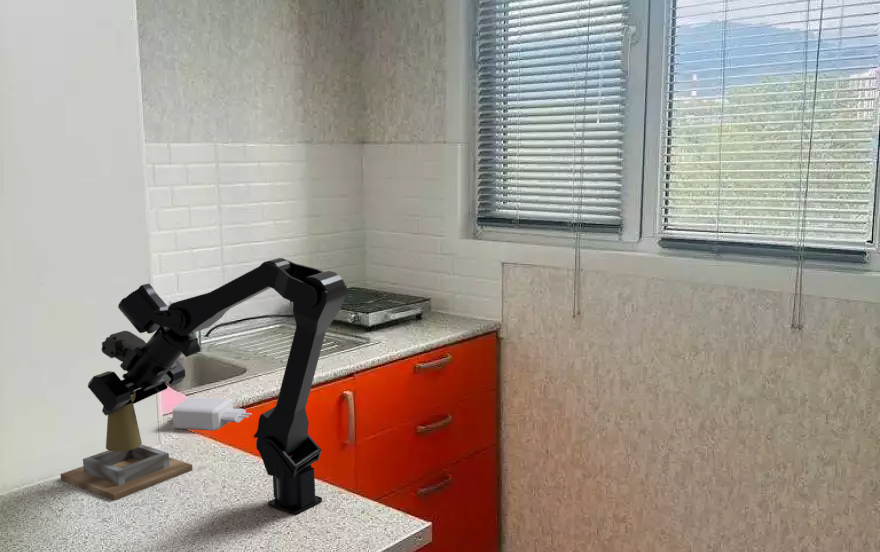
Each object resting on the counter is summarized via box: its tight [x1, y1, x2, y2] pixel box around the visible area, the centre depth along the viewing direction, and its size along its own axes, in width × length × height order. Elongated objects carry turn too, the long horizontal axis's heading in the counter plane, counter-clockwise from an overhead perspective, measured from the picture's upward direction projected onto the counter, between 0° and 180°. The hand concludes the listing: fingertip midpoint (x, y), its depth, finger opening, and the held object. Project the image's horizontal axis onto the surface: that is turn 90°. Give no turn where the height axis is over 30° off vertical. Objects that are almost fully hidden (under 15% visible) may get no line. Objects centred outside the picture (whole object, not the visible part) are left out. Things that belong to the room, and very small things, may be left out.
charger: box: [172, 396, 253, 432], centre depth 183 cm, size 5×9×15 cm
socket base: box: [60, 443, 193, 501], centre depth 157 cm, size 16×16×4 cm
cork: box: [105, 391, 143, 452], centre depth 154 cm, size 6×6×11 cm
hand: (115, 408), depth 155 cm, fingers closed on cork, 5 cm apart
